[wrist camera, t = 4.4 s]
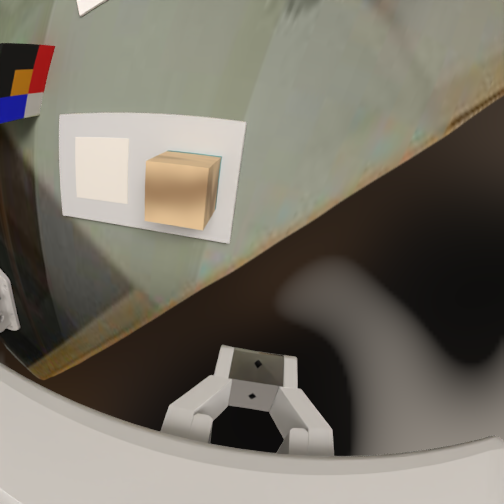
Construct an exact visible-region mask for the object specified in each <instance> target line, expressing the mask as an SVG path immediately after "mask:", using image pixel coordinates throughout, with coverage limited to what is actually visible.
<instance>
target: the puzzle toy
mask: <svg viewBox="0 0 504 504" xmlns="http://www.w3.org/2000/svg"><path fill="white" fill-rule="evenodd" d="M54 49H55V46H48V45H35V44H14V43H1V44H0V124H2V123H6V122H10V121H14V120H18V119H23V118H27V117H32V116H37V115H40V109H41V104H42V98H43V93H44V89H45V84H46V79H47V75H48V71H49V67H50V63H51V59H52V56H53V52H54Z"/></svg>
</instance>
